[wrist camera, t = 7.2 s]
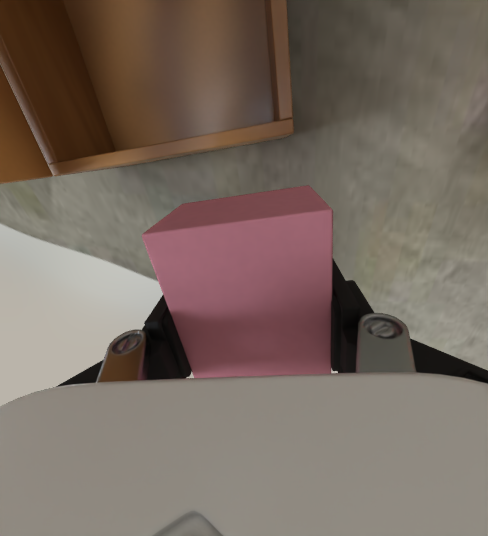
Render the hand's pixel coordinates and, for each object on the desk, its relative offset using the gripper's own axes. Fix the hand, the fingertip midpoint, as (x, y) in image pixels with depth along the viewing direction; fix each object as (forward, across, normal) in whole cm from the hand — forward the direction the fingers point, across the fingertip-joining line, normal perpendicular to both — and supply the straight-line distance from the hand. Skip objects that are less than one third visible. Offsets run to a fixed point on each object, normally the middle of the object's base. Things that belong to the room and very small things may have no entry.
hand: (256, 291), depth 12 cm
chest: (+12, +4, -12) cm, 18 cm away
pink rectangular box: (+1, 0, 0) cm, 1 cm away
